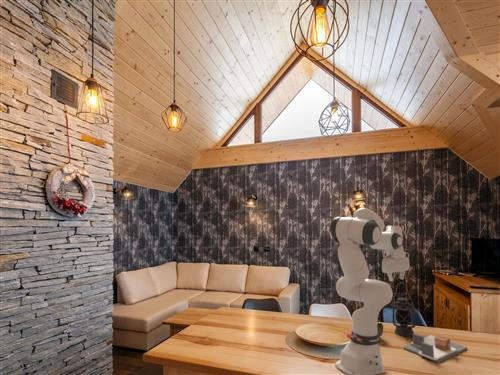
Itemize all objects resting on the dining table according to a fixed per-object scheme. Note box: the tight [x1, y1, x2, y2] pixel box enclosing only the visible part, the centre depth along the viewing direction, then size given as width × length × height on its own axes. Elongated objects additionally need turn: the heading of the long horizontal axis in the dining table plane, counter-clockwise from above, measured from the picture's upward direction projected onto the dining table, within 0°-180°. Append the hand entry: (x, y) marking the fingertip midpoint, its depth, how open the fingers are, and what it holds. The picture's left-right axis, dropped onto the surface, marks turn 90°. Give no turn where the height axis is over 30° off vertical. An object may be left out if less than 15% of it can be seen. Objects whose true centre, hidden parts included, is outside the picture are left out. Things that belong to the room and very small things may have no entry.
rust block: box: [435, 335, 451, 351], centre depth 147 cm, size 5×5×5 cm
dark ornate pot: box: [377, 321, 384, 340], centre depth 165 cm, size 8×7×8 cm
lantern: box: [391, 281, 416, 338], centre depth 173 cm, size 12×11×30 cm
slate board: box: [403, 341, 468, 364], centre depth 150 cm, size 28×17×1 cm, turn 121°
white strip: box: [419, 342, 457, 361], centre depth 145 cm, size 20×8×6 cm, turn 121°
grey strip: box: [410, 332, 436, 348], centre depth 156 cm, size 20×8×6 cm, turn 121°
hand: (396, 280), depth 159 cm, fingers open, 8 cm apart
